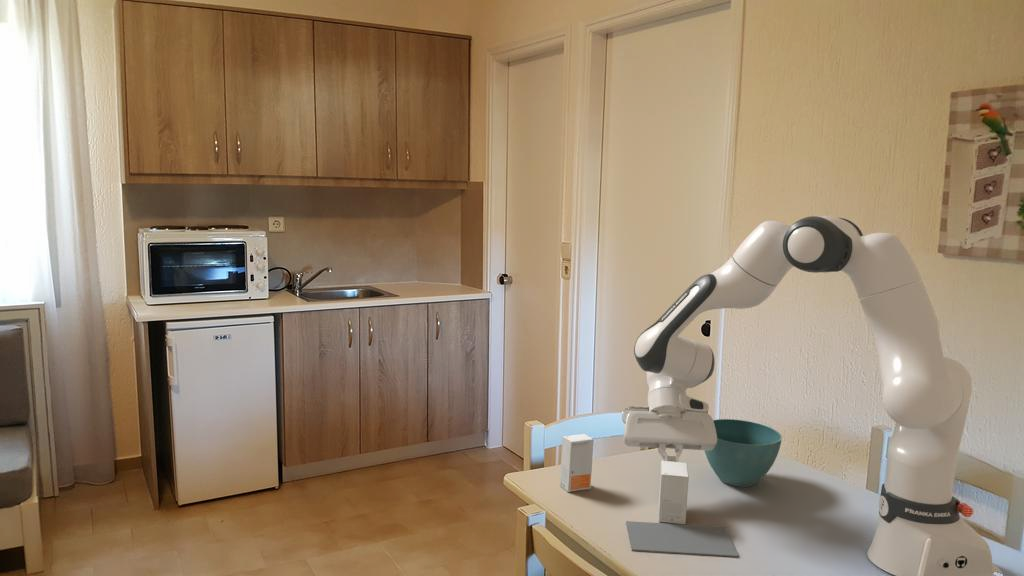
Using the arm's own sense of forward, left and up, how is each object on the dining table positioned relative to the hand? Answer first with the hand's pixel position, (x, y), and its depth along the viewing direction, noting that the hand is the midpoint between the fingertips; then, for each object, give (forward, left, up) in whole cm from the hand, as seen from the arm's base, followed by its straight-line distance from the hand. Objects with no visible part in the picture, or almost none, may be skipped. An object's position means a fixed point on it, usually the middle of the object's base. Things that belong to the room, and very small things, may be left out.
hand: (671, 465), depth 159 cm
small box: (0, +5, -9) cm, 11 cm away
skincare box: (+20, -7, -10) cm, 23 cm away
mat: (0, +15, -9) cm, 18 cm away
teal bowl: (-19, -17, -10) cm, 27 cm away
